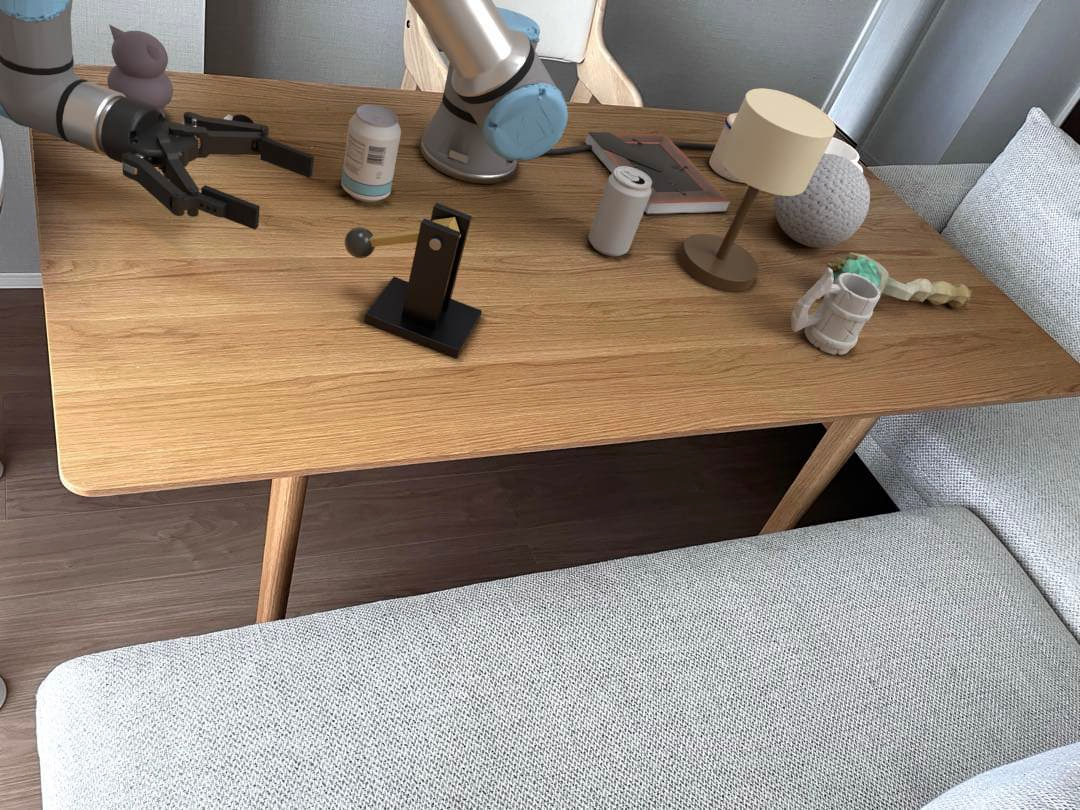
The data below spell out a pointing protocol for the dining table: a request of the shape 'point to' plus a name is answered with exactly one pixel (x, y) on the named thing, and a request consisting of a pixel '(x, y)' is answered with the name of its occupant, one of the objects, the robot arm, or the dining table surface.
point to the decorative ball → (826, 204)
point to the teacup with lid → (715, 157)
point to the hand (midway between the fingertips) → (286, 191)
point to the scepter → (890, 287)
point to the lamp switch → (384, 238)
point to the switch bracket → (430, 290)
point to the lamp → (759, 176)
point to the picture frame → (660, 172)
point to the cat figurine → (140, 68)
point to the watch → (239, 118)
